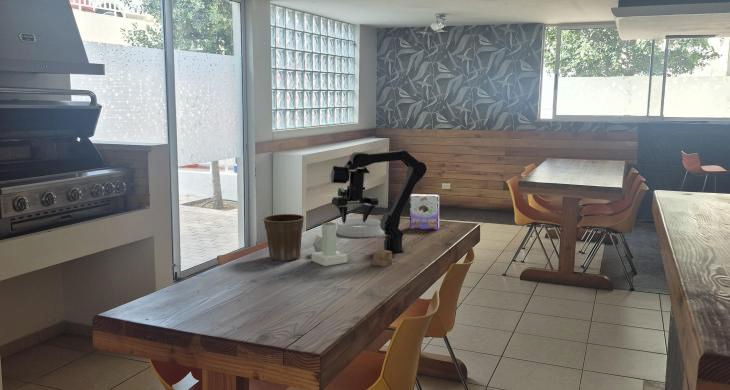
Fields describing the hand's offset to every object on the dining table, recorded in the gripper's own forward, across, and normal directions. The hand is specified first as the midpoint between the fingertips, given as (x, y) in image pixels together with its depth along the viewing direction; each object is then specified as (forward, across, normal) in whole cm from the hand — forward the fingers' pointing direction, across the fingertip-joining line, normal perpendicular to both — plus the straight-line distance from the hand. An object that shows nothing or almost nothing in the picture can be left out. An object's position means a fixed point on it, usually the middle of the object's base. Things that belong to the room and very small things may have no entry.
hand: (354, 222), depth 261 cm
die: (+14, +10, -6) cm, 18 cm away
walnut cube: (+13, -2, +20) cm, 24 cm away
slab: (+14, +13, +6) cm, 20 cm away
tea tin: (+11, +14, +6) cm, 18 cm away
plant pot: (+15, +26, -8) cm, 31 cm away
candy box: (+10, -56, -28) cm, 63 cm away
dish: (+12, -25, -36) cm, 45 cm away
